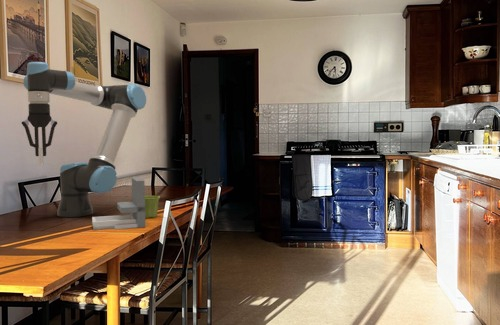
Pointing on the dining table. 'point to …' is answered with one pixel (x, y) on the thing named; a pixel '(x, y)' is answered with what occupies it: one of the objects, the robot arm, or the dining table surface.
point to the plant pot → (151, 206)
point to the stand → (134, 205)
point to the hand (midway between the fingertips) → (41, 164)
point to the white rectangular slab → (112, 221)
